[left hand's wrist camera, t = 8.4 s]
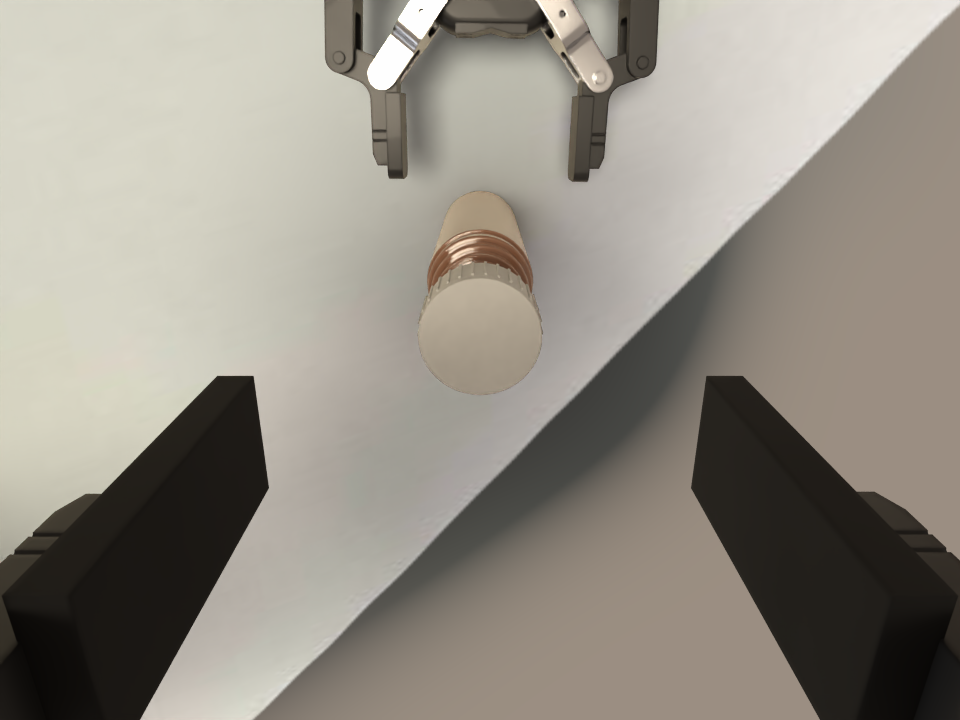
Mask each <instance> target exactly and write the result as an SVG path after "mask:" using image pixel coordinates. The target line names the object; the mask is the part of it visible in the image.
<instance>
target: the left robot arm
mask: <svg viewBox="0 0 960 720" xmlns="http://www.w3.org/2000/svg"><path fill="white" fill-rule="evenodd" d="M268 489H269V485H268V478H267V471H266V464H265V456H264V449H263V442H262V434H261V427H260V420H259V412H258V405H257V398H256V391H255V383H254V376H217V377H216V378H215V379H214V380H213V381H212V382H211V383H210V384H209V385H208V386H207V387H206V388H205V389H204V390H203V391H202V392H201V393H200V394H199V395H198V396H197V397H196V398H195V399H194V400H193V401H192V402H191V403H190V404H189V405H188V406H187V407H186V408H185V409H184V410H183V411H182V412H181V414H180V415H179V416H178V417H177V418H176V419H175V420H174V421H173V422H172V423H171V424H170V425H169V426H168V427H167V428H166V429H165V430H164V431H163V432H162V433H161V434H160V435H159V436H158V437H157V438H156V439H155V440H154V441H153V442H152V443H151V444H150V445H149V446H148V447H147V448H146V449H145V450H144V451H143V452H142V453H141V454H140V455H139V456H138V457H137V458H136V459H135V460H134V461H133V462H132V463H131V464H130V465H129V466H128V467H127V468H126V469H125V471H124V472H123V473H122V474H121V475H120V476H119V477H118V478H117V479H116V480H115V481H114V482H113V483H112V484H111V485H110V486H109V487H108V488H107V489H106V490H105V491H104V492H103V493H102V494H85V495H83V496H82V497H80V498H78V499H76V500H75V501H73V502H71V503H69V504H68V505H66V506H64V507H62V508H61V509H59V510H57V511H55V512H54V513H53V514H52V515H51V516H50V517H49V518H48V519H47V520H46V521H45V522H44V523H43V524H42V525H40V526H39V527H38V528H37V529H36V530H35V531H34V532H33V536H32V537H28V538H27V539H26V540H25V541H24V542H23V543H22V544H20V545H19V546H18V547H17V548H16V549H15V552H14V555H9V556H8V557H7V558H6V559H5V560H4V561H3V562H1V563H0V720H140V719H141V717H142V715H143V713H144V712H145V710H146V708H147V706H148V704H149V703H150V701H151V699H152V697H153V695H154V694H155V692H156V690H157V688H158V686H159V685H160V683H161V681H162V679H163V677H164V676H165V674H166V672H167V670H168V668H169V667H170V665H171V663H172V661H173V659H174V658H175V656H176V654H177V652H178V650H179V649H180V647H181V645H182V643H183V641H184V640H185V638H186V636H187V634H188V632H189V631H190V629H191V627H192V625H193V623H194V622H195V620H196V618H197V616H198V614H199V613H200V611H201V609H202V607H203V606H204V604H205V602H206V600H207V598H208V597H209V595H210V593H211V591H212V589H213V588H214V586H215V584H216V582H217V580H218V579H219V577H220V575H221V573H222V571H223V570H224V568H225V566H226V564H227V562H228V561H229V559H230V557H231V555H232V553H233V552H234V550H235V548H236V546H237V544H238V543H239V541H240V539H241V537H242V535H243V534H244V532H245V530H246V528H247V526H248V525H249V523H250V521H251V519H252V517H253V516H254V514H255V512H256V510H257V508H258V507H259V505H260V503H261V501H262V499H263V498H264V496H265V494H266V492H267V490H268ZM691 489H692V490H693V492H694V494H695V496H696V498H697V499H698V501H699V503H700V505H701V507H702V508H703V510H704V512H705V514H706V516H707V517H708V519H709V521H710V523H711V525H712V526H713V528H714V530H715V532H716V534H717V535H718V537H719V539H720V541H721V543H722V544H723V546H724V548H725V550H726V552H727V553H728V555H729V557H730V559H731V561H732V562H733V564H734V566H735V568H736V570H737V571H738V573H739V575H740V577H741V578H742V580H743V582H744V584H745V586H746V587H747V589H748V591H749V593H750V595H751V596H752V598H753V600H754V602H755V604H756V605H757V607H758V609H759V611H760V613H761V614H762V616H763V618H764V620H765V622H766V623H767V625H768V627H769V629H770V631H771V632H772V634H773V636H774V638H775V640H776V641H777V643H778V645H779V647H780V649H781V650H782V652H783V654H784V656H785V658H786V659H787V661H788V663H789V665H790V667H791V668H792V670H793V672H794V674H795V676H796V677H797V679H798V681H799V683H800V685H801V686H802V688H803V690H804V692H805V694H806V695H807V697H808V699H809V701H810V702H811V704H812V706H813V708H814V710H815V711H816V713H817V715H818V717H819V719H820V720H960V560H959V559H958V558H957V557H955V556H954V555H953V554H952V553H951V552H947V551H946V547H945V546H944V545H943V544H942V543H941V542H940V541H938V540H937V539H936V538H935V537H934V536H933V535H929V534H928V530H927V529H926V528H925V527H924V526H923V525H921V524H920V523H919V522H918V521H917V520H916V519H915V518H914V517H913V516H912V515H911V514H910V513H909V512H908V511H907V510H906V509H904V508H902V507H900V506H899V505H897V504H895V503H893V502H891V501H890V500H888V499H886V498H884V497H883V496H881V495H879V494H877V493H876V492H856V491H855V490H854V489H853V488H852V487H851V486H850V485H849V484H848V483H847V482H846V481H845V480H844V479H843V478H842V477H841V476H840V475H839V474H838V473H837V472H836V471H835V470H834V468H833V467H832V466H831V465H830V464H829V463H828V462H827V461H826V460H825V459H824V458H823V457H822V456H821V455H820V454H819V453H818V452H817V451H816V450H815V449H814V448H813V447H812V446H811V445H810V444H809V443H808V442H807V441H806V440H805V439H804V438H803V437H802V436H801V435H800V434H799V433H798V432H797V431H796V430H795V429H794V428H793V427H792V426H791V425H790V424H789V423H788V422H787V421H786V420H785V419H784V418H783V417H782V416H781V415H780V414H779V412H778V411H776V409H775V408H774V407H773V406H772V405H771V404H770V403H769V402H768V401H767V400H766V399H765V398H764V397H763V396H762V395H761V394H760V393H759V392H758V391H757V390H756V389H755V388H754V387H753V386H752V385H751V384H750V383H749V382H748V381H747V380H746V379H745V378H744V377H743V376H707V377H706V383H705V391H704V398H703V405H702V413H701V420H700V427H699V434H698V442H697V449H696V456H695V464H694V471H693V478H692V486H691Z"/></svg>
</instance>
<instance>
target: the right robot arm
mask: <svg viewBox="0 0 960 720" xmlns="http://www.w3.org/2000/svg"><path fill="white" fill-rule="evenodd" d="M324 1H325V60H326V63H327V65H328V67H329V68H330V69H331V70H332V71H334V72H337V73H340V74H342V75H345V76H347V77H350V78H352V79H355V80H357V81H359V82H361V83H362V84H364V85H365V86H366V88H367V89H368V91H369V93H370V98H371V119H372V139H373V155H374V157H375V159H376V162H377V164H378V165H388V176H389V179H404V178H405V177H407V172H408V163H407V126H406V94H404V93H401V83H402V81H403V80H404V78H405V77H406V75H407V74H408V72H409V71H410V69H411V68H412V66H413V65H414V63H415V62H416V60H417V59H418V58H419V56H420V55H421V54H422V53H423V52H424V50H425V49H426V48H427V46H428V45H429V43H430V42H431V40H432V39H433V37H434V36H435V35H436V33H437V32H438V30H439V29H440V27H442V28H443V29H444V30H445V31H447V32H448V33H450V34H453V35H456V38H475V37H478V36H482V35H485V34H489V33H492V34H495V35H499V36H502V37H505V38H514V39H525V37H526V36H529V35H531V34H534V33H535V32H537V31H538V30H539V29H541V30H542V32H543V34H544V35H545V37H546V38H547V40H548V41H549V43H550V45H551V46H552V48H553V49H554V51H555V52H556V53H557V54H558V55H559V57H560V58H561V59H562V61H563V62H564V64H565V65H566V67H567V69H568V70H569V72H570V73H571V75H572V77H573V78H574V80H575V81H576V83H577V84H578V95H577V96H575V97H572V111H571V128H570V145H569V162H568V178H569V179H570V180H571V181H572V182H587V181H588V178H589V169H599V167H600V165H601V163H602V161H603V159H604V151H605V139H606V126H607V113H608V102H609V98H610V95H611V94H612V92H613V91H614V90H615V89H616V88H617V87H619V86H621V85H623V84H626V83H629V82H631V81H634V80H637V79H640V78H644V77H647V76H649V75H650V74H651V73H652V72H653V71H654V69H655V66H656V58H657V35H658V13H659V0H619V16H618V55H617V56H616V57H613V58H611V59H608V60H606V59H605V58H604V56H603V54H602V53H601V51H600V49H599V48H598V46H597V44H596V43H595V41H594V40H593V38H592V36H591V34H590V31H589V28H588V26H587V24H586V22H585V20H584V19H583V17H582V15H581V14H580V12H579V10H578V9H577V7H576V5H575V4H574V2H573V1H572V0H410V2H409V3H408V5H407V6H406V8H405V10H404V11H403V13H402V14H401V16H400V17H399V19H398V20H397V22H396V24H395V26H394V28H393V31H392V33H391V34H390V36H389V38H388V39H387V41H386V42H385V44H384V45H383V47H382V48H381V50H380V51H379V53H378V54H377V56H376V57H375V56H373V55H370V54H368V53H365V52H363V0H324Z"/></svg>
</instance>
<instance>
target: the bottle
mask: <svg viewBox="0 0 960 720" xmlns="http://www.w3.org/2000/svg"><path fill="white" fill-rule="evenodd" d="M484 261H486V262H487V263H489V264H494V265H496V264H499V266H501V267H503V268H505V269H508V268H509V269H510V270H511V272H512V273H514V274H515V275H517V276H518V275H519V276H520V277H521V280H522V281H523V282H524V283H525V285H526V284H528V286H529V290H530V292H531V294H532V288H533V274H532V269H531V265H530V262H529V259H528V256H527V253H526V250H525V247H524V244H523V241H522V237H521V234H520V231H519V228H518V225H517V222H516V219H515V216H514V213H513V211H512V209H511V208H510V206H509V205H508V204H507V202H505V201H504V200H503V199H502V198H501V197H499V196H497V195H495V194H493V193H490V192H485V191H475V192H470V193H467V194H465V195H463V196H461V197H460V198H458V199H457V200H456V201H455V202H454V203H453V204H452V205H451V206H450V208H449V209H448V211H447V213H446V216H445V219H444V222H443V226H442V229H441V232H440V235H439V238H438V241H437V244H436V247H435V251H434V254H433V257H432V260H431V263H430V266H429V270H428V276H427V285H428V294H429V292H430V289H431V286H432V285H433V286H434V285H435V284H436V283H437V282H438V278H439V277H440V276H441V277H443V276H444V275H445V274H446V273H448V270H450V269H451V270H453V269H455V268H457V267H459V265H460V264H462V266H463V265H466V264H471V263H472V262H474V263H484Z"/></svg>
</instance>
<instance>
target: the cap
mask: <svg viewBox="0 0 960 720" xmlns="http://www.w3.org/2000/svg"><path fill="white" fill-rule="evenodd" d="M540 322H542V320H541V316H540V313H539V309H538V306H537V304H536V300H535V297H534V294H531V292H530V290H529V286H528V284H526V285H525V283H524V282H523V281H522V280H521V277H520V276H519V275H518V276H517V275H515V274H514V273H512V272H511V270H510V269H509V268H508V269H505V268H503V267H501V266H499V264H496V265H494V264H489V263H487V262H486V261H484V263H474V262H472V263H471V264H466V265H463V266H462V264H460V265H459V267H457V268H455V269H453V270H451V269H450V270H448V273H446V274H445V275H444V276H443V277H441V276H440V277H439V278H438V282H437V283H436V284H435V285H434V286H433V285H432V286H431V289H430V292H429V295H428V296H426V297H425V301H424V304H423V308H422V311H421V315H420V318H419V322H418V324H420V326H419V331H418V340H419V347H420V352H421V355H422V357H423V360H424V362H425V363H426V365H427V367H428V368H429V370H430V371H431V372H432V374H433V375H434V376H435V377H436V378H437V379H439V380H440V381H441V382H442V383H444V384H445V385H447V386H448V387H450V388H452V389H455V390H457V391H460V392H463V393H468V394H474V395H487V394H493V393H497V392H501V391H503V390H506V389H508V388H510V387H512V386H513V385H515V384H517V383H518V382H519V381H521V380H522V379H523V378H524V377H525V376H526V375H527V374H528V373H529V371H530V370H531V369H532V368H533V366H534V364H535V362H536V360H537V358H538V356H539V353H540V349H541V343H542V334H543V331H542V327H541V323H540Z"/></svg>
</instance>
